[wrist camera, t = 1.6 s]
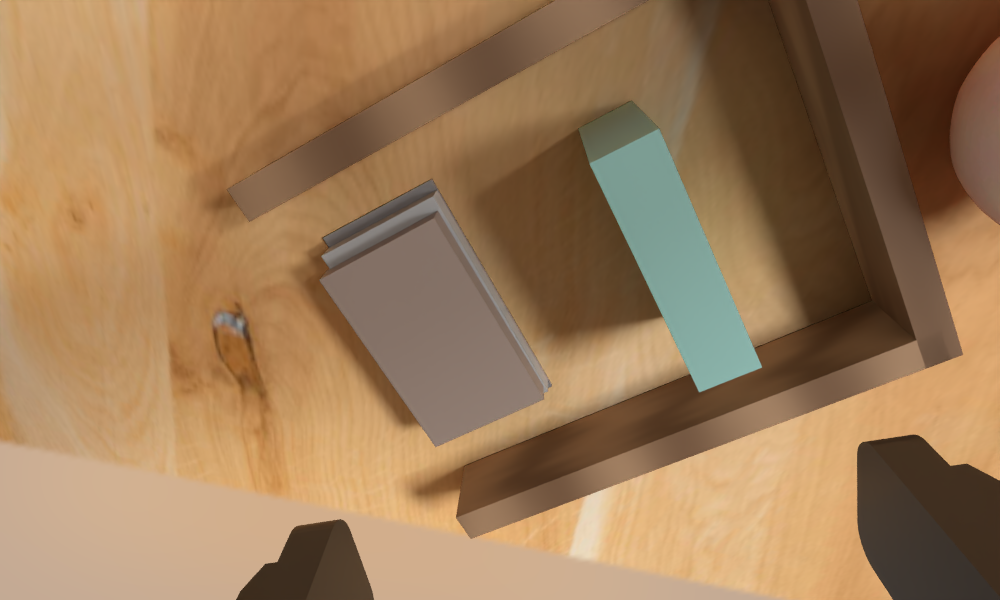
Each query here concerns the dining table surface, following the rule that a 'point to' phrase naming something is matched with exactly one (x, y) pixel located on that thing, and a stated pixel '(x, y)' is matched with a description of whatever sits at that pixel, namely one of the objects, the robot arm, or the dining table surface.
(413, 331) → the top offcut
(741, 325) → the teal panel
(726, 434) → the walnut frame
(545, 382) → the middle offcut
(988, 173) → the decorative fruit
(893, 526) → the robot arm
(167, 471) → the dining table surface
